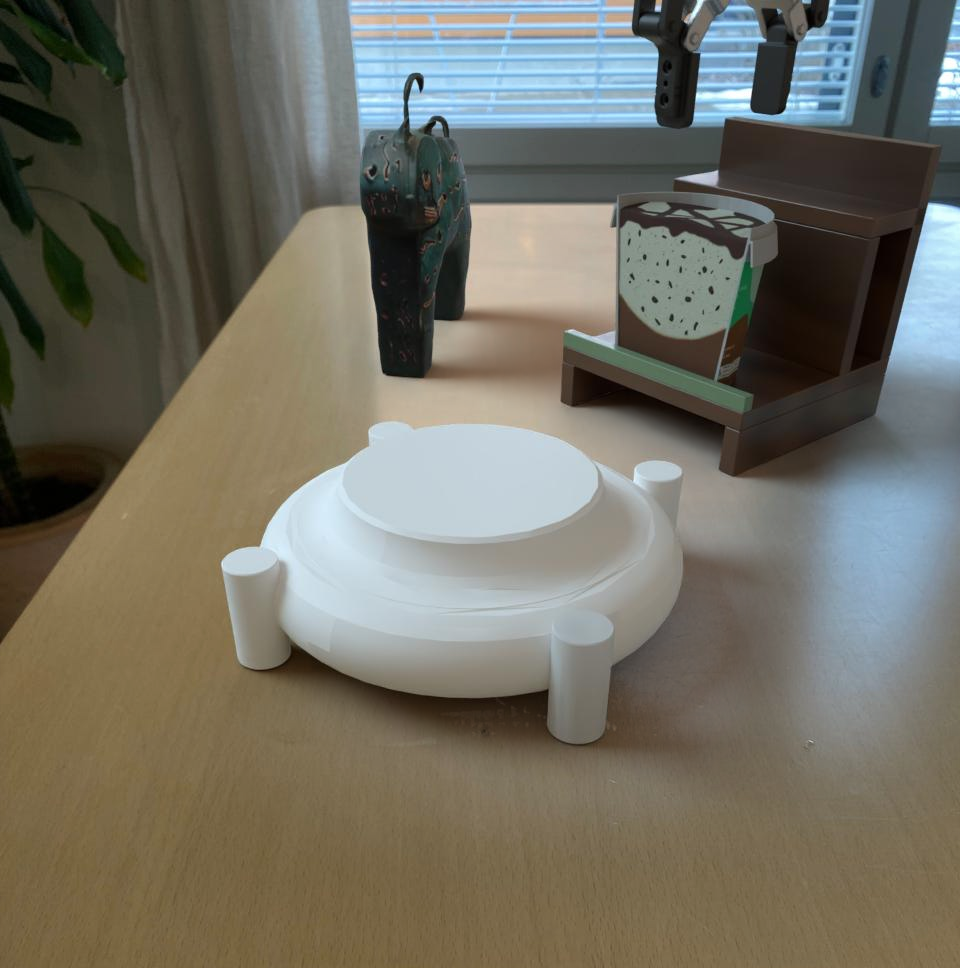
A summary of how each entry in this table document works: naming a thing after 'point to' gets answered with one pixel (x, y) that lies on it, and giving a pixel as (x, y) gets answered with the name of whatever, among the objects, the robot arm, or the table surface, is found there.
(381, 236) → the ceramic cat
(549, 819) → the table surface
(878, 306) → the step rack
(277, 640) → the round stand with pegs
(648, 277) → the food container
